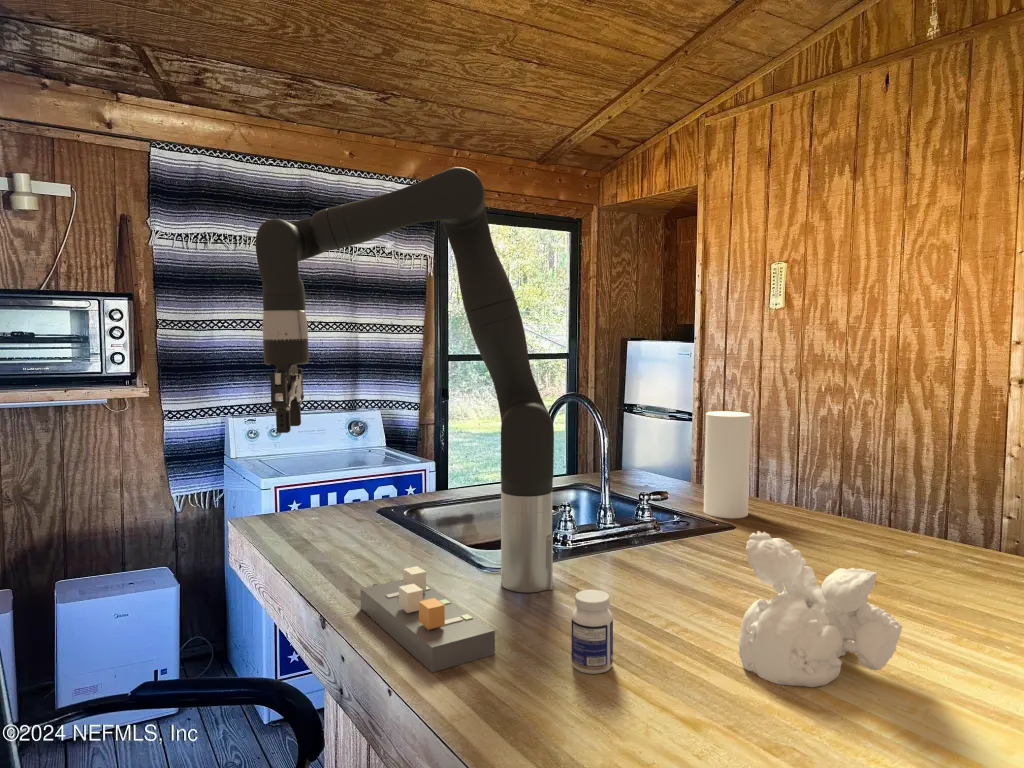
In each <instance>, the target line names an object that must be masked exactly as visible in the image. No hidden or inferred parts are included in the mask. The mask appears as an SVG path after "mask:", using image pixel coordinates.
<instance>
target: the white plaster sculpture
mask: <svg viewBox="0 0 1024 768" xmlns="http://www.w3.org/2000/svg"><path fill="white" fill-rule="evenodd" d="M745 553H746V556H747V562H748V564H749V566H750V567H751V569H752V570H753V573H754V575H755V576H756V577H757V578H758V579H759V580H760V582H762V583H765V584H769V585H771V586H772V588H773V590H774V591H775V592H776V593H777V595H775V596H773V597H771V598H770V599H769V600H768V599H765V598H760V599H758V600H757V599H756V601H754V602H753V603H751V605H750V607H749V608H747V610H746V611H745V613H744V615H743V618H742V621H741V624H740V635H739V640H738V655H739V658H740V660H741V664H742V667H743V669H744V670H746V671H748V672H753V673H754V674H757V676H758V677H759V678H761V679H763V680H765V681H768V682H770V683H773V684H776V685H780V686H781V685H782V686H792V687H793V686H796V687H806V688H807V687H808V688H817V687H824V686H826V685H828V684H830V683H831V682H832V681H833V682H834V681H835V680H836V679H837V678H838V676H839V675H840V673H841V669H842V668H841V666H842V664H843V662H842V660H841V659H840V657H844V656H845V655H846V653H847V652H849V654H856V656H857V658H858V662H859V663H860V665H862V666H864V667H865V668H867V669H869V670H873V671H879V670H881V669H882V668H884V667H885V666H886V665H887V663H888V662H889V661H890V659H892V657H893V655H894V654H895V652H896V651H897V644H898V641H899V640H900V637H901V633H902V631H903V625H902V624H901V623H900V622H899V621H898V620H896V619H895V616H892V614H890V613H889V612H886V609H882V608H881V607H879V606H877V605H875V604H871V603H870V602H868V601H869V600H868V599H869V598H868V596H869V595H870V594H871V593H872V590H873V589H874V587H875V586H874V585H875V583H876V581H877V574H878V572H874V571H872V570H867V569H864V568H855V567H851V568H848V569H847V568H843V567H840V568H838V569H836V570H834V571H833V572H832V573H830V574H829V575H827V576H826V577H825V579H824V580H823V582H822V584H821V586H820V584H817V583H816V581H817V577H816V576H815V572H814V571H815V570H814V569H813V568H812V566H808V565H807V564H806V563H807V561H806V558H803V557H802V553H801V551H800V550H799V549H795V547H793V545H792V543H790V542H788V541H787V540H786V539H783V538H780V537H775V538H774V537H773V538H772V537H771V534H769V533H767V532H766V531H763V532H761V531H760V530H758V531H756V532H752V533H751V534H750V535H749V540H747V541H746V547H745Z"/></svg>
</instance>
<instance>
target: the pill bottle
mask: <svg viewBox="0 0 1024 768" xmlns="http://www.w3.org/2000/svg"><path fill="white" fill-rule="evenodd" d="M574 597H575V598H574V602H575V603H574V604H575V606H576V608H574V609H573V611H572V613H571V664H572V666H573V667H574V668H575V669H576V670H577V671H579V672H581V673H584V674H585V673H586V674H591V675H594V674H603V673H606V672H608V671H609V670H611V668H612V667H613V665H614V649H613V648H614V618H613V613H612V612H611V610H610V609H609V606H610V603H611V602H610V594H608V593H607V592H606V591H603V590H599V589H585V590H580V591H578V592H577V593H576V594H575V596H574Z"/></svg>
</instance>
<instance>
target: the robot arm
mask: <svg viewBox="0 0 1024 768" xmlns="http://www.w3.org/2000/svg"><path fill="white" fill-rule="evenodd" d="M485 194H486V193H485V187H484V184H483V182H482V180H481V179H480V177H479V176H478V174H476V173H475V172H474V171H472V170H471V169H468V168H466V167H460V166H453V167H451V168H447V169H446V170H443V171H441V172H439V173H438V172H437V173H436V174H433V175H431V176H429V177H427V178H425V179H423V180H420V181H419V182H416V183H413V184H411V185H408V186H405V187H402V188H399V189H397V190H393V191H391V192H387V193H384V194H380V195H377V196H372V197H368V198H363V199H359V200H356V201H352V202H348V203H344V204H340V205H335V206H332V207H328V208H324V209H321V210H317V212H315V213H313V215H312V216H310V217H307V218H304V219H303V218H302V219H300V220H296V221H291V222H288V221H287V220H284V219H281V218H271V219H268V220H265V221H264V222H262V223H261V225H260V226H259V228H257V229H258V230H257V232H256V234H255V254H256V260H257V266H258V269H259V270H258V272H259V275H260V279H261V283H262V308H263V313H262V316H263V317H262V344H263V362H264V364H265V365H266V366H275V367H276V369H275V372H270V375H269V379H270V408H271V409H273V411H275V423H276V424H275V425H276V432H277V434H278V433H279V434H288V433H290V432H291V431H292V430H291V429H292V427H299V426H301V424H302V411H301V405H302V403H303V400H304V398H305V396H304V383H303V381H304V380H303V378H304V377H303V368H301V367H298V365H306V364H308V363H309V362H310V356H309V331H308V330H309V329H308V326H309V325H308V319H307V313H306V294H305V292H306V291H305V286H304V282H303V280H302V279H301V277H300V273H299V271H300V269H299V262H301V261H304V260H307V259H310V258H313V257H316V256H318V255H322V254H323V253H325V252H328V251H335V250H340V249H344V248H347V247H351V246H355V245H360V244H363V243H366V242H369V241H372V240H374V239H377V238H380V237H382V236H384V235H387V234H389V233H392V232H395V231H396V230H397V231H398V230H399V229H402V228H405V227H409V226H412V225H417V224H420V223H427V222H428V223H429V222H437V221H440V223H441V225H442V227H443V230H444V232H445V235H446V238H447V240H448V242H449V244H450V247H451V249H452V252H453V257H454V260H455V264H456V269H457V276H458V283H459V290H460V295H461V300H462V305H463V307H464V309H463V310H464V311H465V312H464V313H466V319H467V322H468V325H469V328H470V331H471V335H472V337H473V340H474V343H475V346H476V347H477V348H476V349H478V352H479V354H480V357H481V358H482V360H483V363H484V365H485V366H486V369H487V371H488V373H489V375H490V377H491V380H492V384H493V387H494V391H495V395H496V399H497V404H498V409H499V414H500V421H501V423H500V488H501V489H500V490H501V491H500V499H501V500H500V515H501V516H500V520H501V521H500V581H501V582H500V584H501V587H503V588H505V589H506V590H508V591H511V592H517V593H538V592H542V591H546V590H553V586H554V585H553V584H554V583H553V576H554V575H553V571H554V570H553V569H554V568H553V564H554V562H553V559H554V556H553V555H554V553H553V551H554V545H553V543H554V542H553V541H554V537H553V486H554V485H553V482H554V470H555V469H554V463H555V462H554V460H555V459H554V458H555V457H554V455H555V451H554V450H555V429H554V428H555V427H554V422H553V420H552V417H551V415H550V413H549V411H548V409H547V407H546V405H545V402H544V401H543V398H542V396H541V394H540V392H539V389H538V387H537V386H538V385H537V383H536V381H535V379H534V375H533V372H532V369H531V364H530V358H529V350H528V349H529V348H528V344H527V343H528V342H527V338H526V333H525V328H524V323H523V319H522V316H521V313H520V312H521V311H520V310H519V309H520V308H519V305H518V301H517V299H516V295H515V293H514V290H513V287H512V285H511V282H510V280H509V277H508V275H507V272H506V270H505V269H504V266H503V264H502V262H501V260H500V258H499V255H498V254H497V252H496V249H495V246H494V243H493V239H492V235H491V231H490V226H489V221H488V216H487V210H486V209H487V208H486V200H485V197H486V196H485Z"/></svg>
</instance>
